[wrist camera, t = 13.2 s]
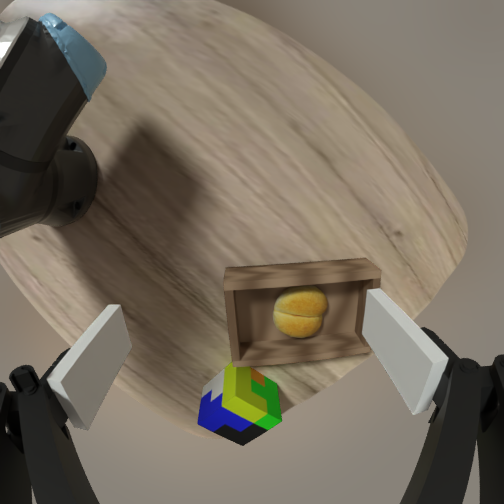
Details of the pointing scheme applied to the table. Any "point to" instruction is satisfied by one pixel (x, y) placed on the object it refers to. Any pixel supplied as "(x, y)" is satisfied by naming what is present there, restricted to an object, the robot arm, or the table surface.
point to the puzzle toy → (239, 404)
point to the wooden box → (263, 301)
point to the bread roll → (299, 310)
